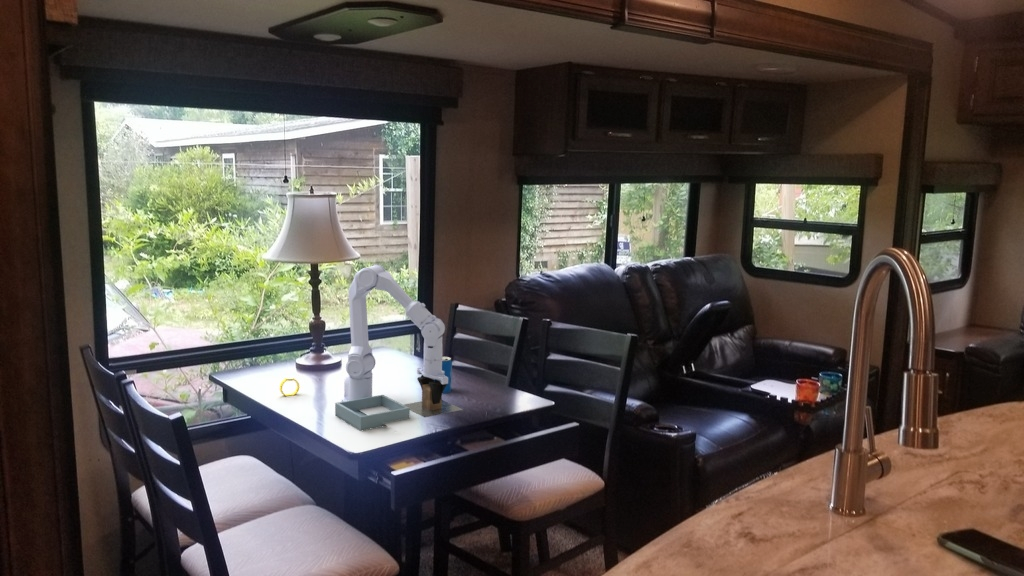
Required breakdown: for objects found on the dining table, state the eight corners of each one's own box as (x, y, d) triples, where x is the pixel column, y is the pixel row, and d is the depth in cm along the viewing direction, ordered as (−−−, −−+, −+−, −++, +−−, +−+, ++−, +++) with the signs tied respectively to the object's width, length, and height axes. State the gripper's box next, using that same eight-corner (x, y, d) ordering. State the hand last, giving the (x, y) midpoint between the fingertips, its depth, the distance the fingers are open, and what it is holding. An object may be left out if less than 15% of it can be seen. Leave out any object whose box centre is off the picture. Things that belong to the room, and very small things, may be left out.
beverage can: (447, 396, 244) (448, 361, 242) (429, 394, 245) (430, 359, 243) (453, 391, 250) (454, 357, 248) (435, 389, 251) (436, 355, 250)
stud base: (400, 408, 230) (400, 391, 229) (438, 401, 238) (438, 385, 238) (424, 420, 219) (425, 403, 218) (463, 412, 228) (463, 396, 227)
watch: (296, 393, 242) (298, 376, 241) (299, 396, 239) (300, 378, 239) (278, 394, 238) (279, 376, 238) (280, 397, 236) (282, 378, 235)
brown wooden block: (421, 406, 229) (422, 384, 228) (433, 404, 232) (434, 382, 231) (429, 410, 225) (430, 388, 224) (441, 408, 228) (442, 386, 227)
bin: (335, 415, 220) (335, 402, 220) (382, 407, 230) (382, 394, 230) (360, 430, 208) (360, 417, 207) (409, 421, 218) (409, 408, 217)
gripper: (457, 362, 223) (455, 405, 225) (430, 352, 234) (430, 393, 236) (437, 365, 219) (436, 409, 221) (411, 355, 230) (411, 397, 232)
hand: (431, 401), depth 228 cm, fingers closed on brown wooden block, 4 cm apart
